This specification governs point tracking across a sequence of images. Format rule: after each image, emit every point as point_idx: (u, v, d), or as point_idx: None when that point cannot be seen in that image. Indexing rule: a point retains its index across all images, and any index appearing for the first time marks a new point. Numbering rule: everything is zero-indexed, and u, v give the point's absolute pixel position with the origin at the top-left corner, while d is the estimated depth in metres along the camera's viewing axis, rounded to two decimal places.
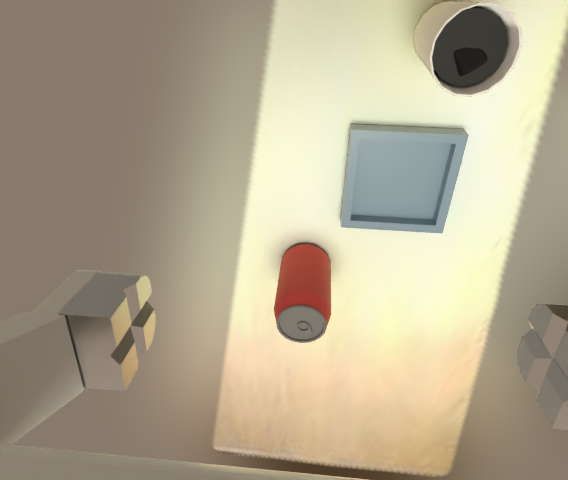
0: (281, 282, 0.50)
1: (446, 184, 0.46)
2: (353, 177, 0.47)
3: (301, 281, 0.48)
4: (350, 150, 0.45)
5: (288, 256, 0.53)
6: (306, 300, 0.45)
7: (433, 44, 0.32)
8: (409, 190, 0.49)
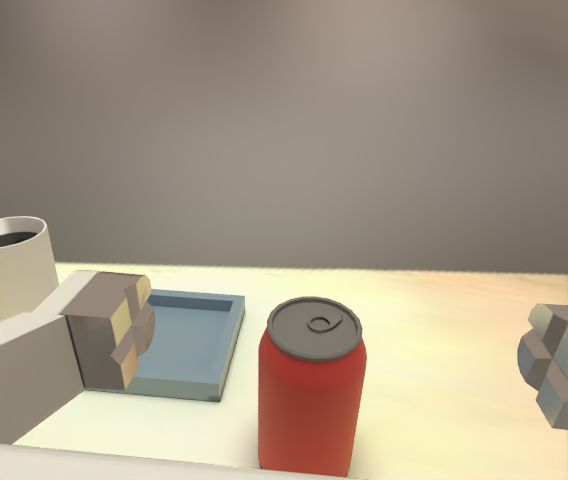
0: (276, 418, 0.24)
1: (182, 296, 0.43)
2: (141, 369, 0.34)
3: None
4: None
5: (266, 458, 0.27)
6: None
7: None
8: (189, 331, 0.41)
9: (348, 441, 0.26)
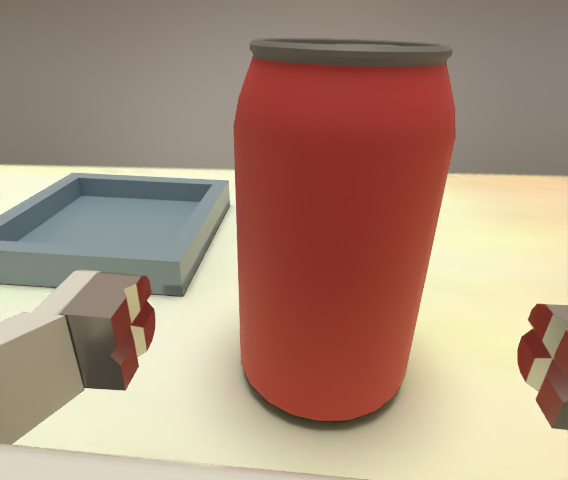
0: (271, 240, 0.12)
1: (140, 180, 0.31)
2: (58, 246, 0.21)
3: None
4: None
5: (254, 349, 0.14)
6: None
7: None
8: (146, 219, 0.28)
9: (413, 304, 0.13)
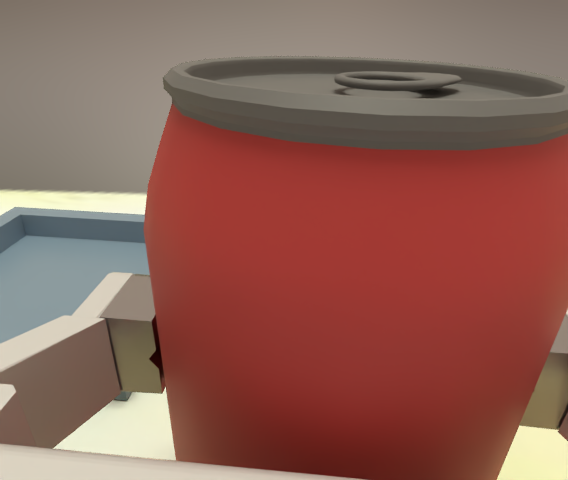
0: (210, 458, 0.06)
1: (95, 218, 0.25)
2: None
3: None
4: None
5: None
6: None
7: None
8: (98, 272, 0.22)
9: None
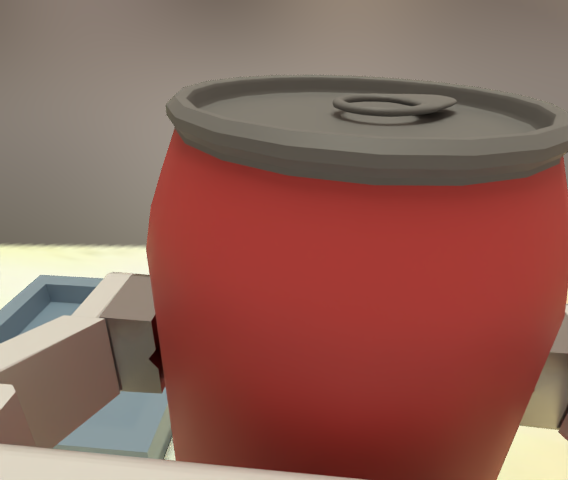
0: None
1: None
2: None
3: None
4: None
5: None
6: None
7: None
8: None
9: None
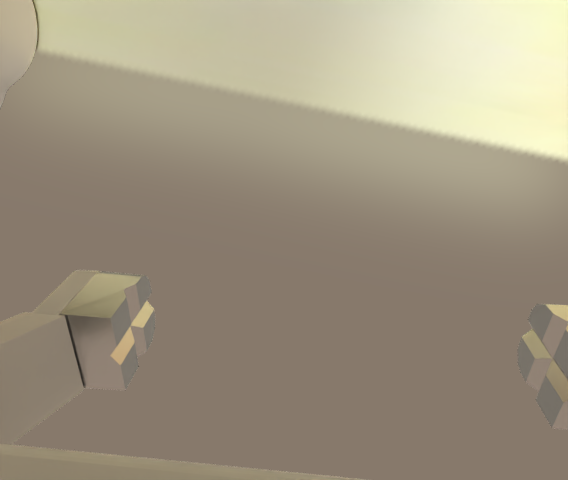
0: None
1: None
2: None
3: None
4: None
5: None
6: None
7: None
8: None
9: None
